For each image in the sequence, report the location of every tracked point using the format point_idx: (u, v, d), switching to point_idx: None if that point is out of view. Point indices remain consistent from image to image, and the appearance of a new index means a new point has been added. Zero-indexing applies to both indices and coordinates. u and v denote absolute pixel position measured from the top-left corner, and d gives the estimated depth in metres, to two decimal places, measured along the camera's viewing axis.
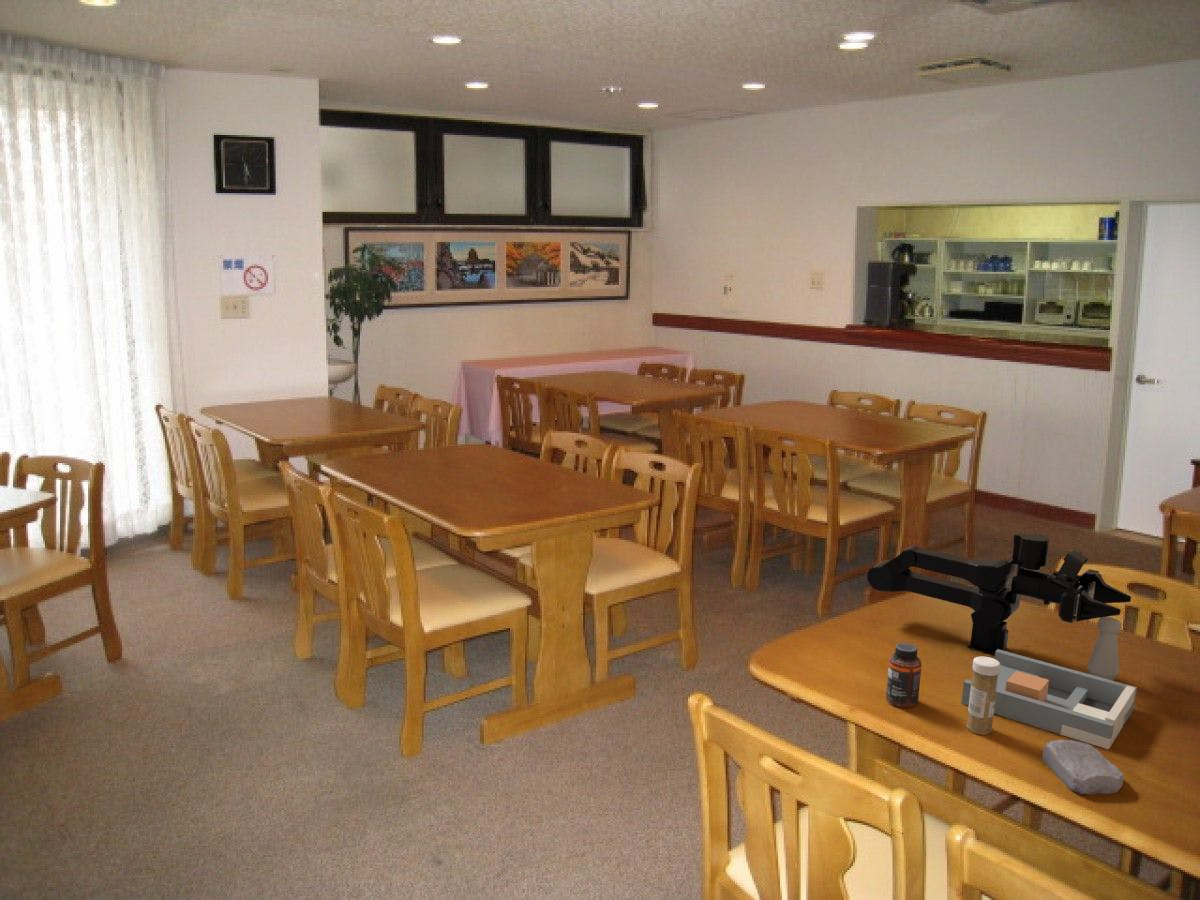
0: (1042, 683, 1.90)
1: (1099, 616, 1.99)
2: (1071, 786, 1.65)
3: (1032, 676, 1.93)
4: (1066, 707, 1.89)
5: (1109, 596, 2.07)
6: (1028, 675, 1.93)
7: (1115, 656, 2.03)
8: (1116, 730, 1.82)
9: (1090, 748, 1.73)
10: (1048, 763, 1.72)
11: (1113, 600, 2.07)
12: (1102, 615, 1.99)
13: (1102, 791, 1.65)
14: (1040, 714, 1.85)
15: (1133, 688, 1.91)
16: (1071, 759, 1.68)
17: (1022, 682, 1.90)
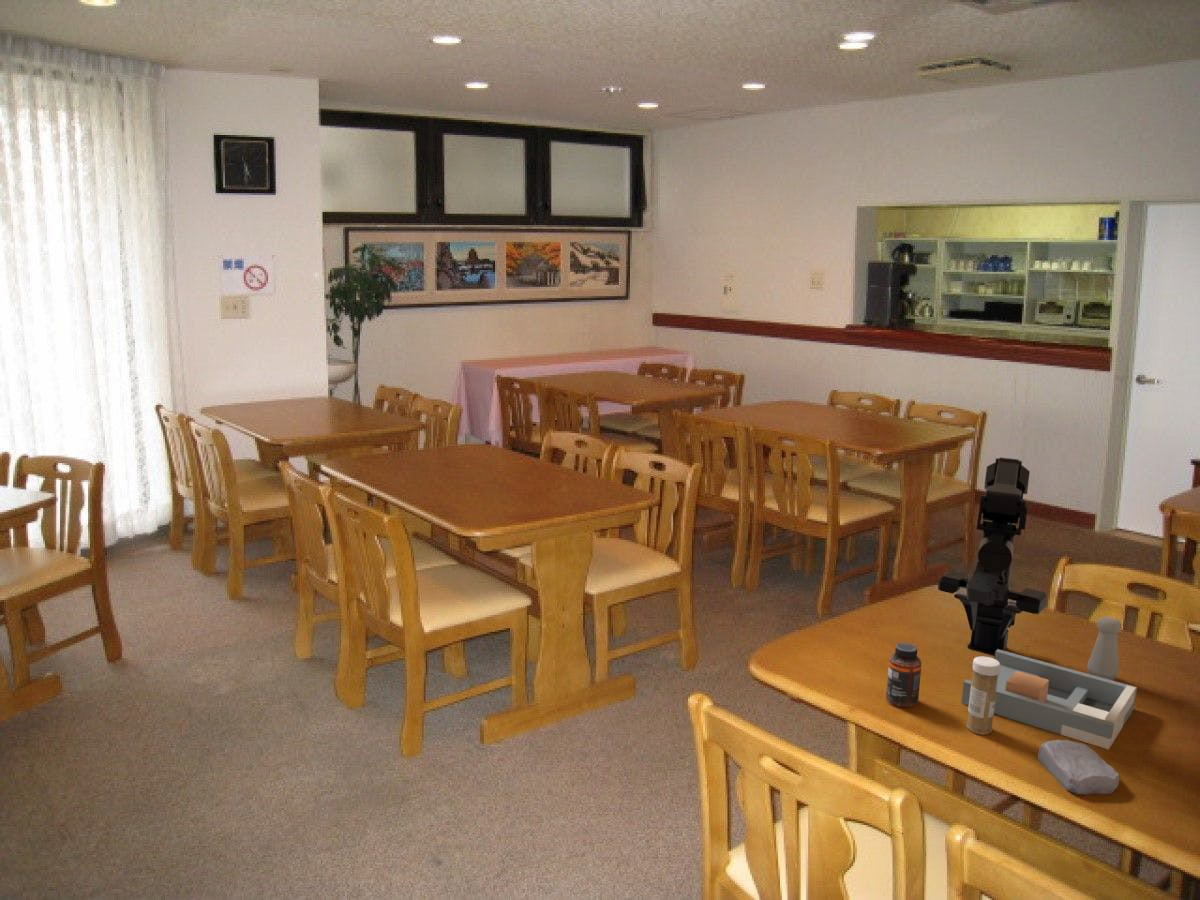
0: (1042, 683, 1.90)
1: None
2: (1067, 786, 1.65)
3: (1032, 676, 1.93)
4: (1066, 707, 1.89)
5: None
6: (1028, 675, 1.93)
7: (1115, 656, 2.03)
8: (1116, 730, 1.82)
9: (1086, 748, 1.73)
10: (1044, 763, 1.72)
11: None
12: None
13: (1098, 791, 1.65)
14: (1040, 714, 1.85)
15: (1133, 688, 1.91)
16: (1067, 760, 1.68)
17: (1022, 682, 1.90)
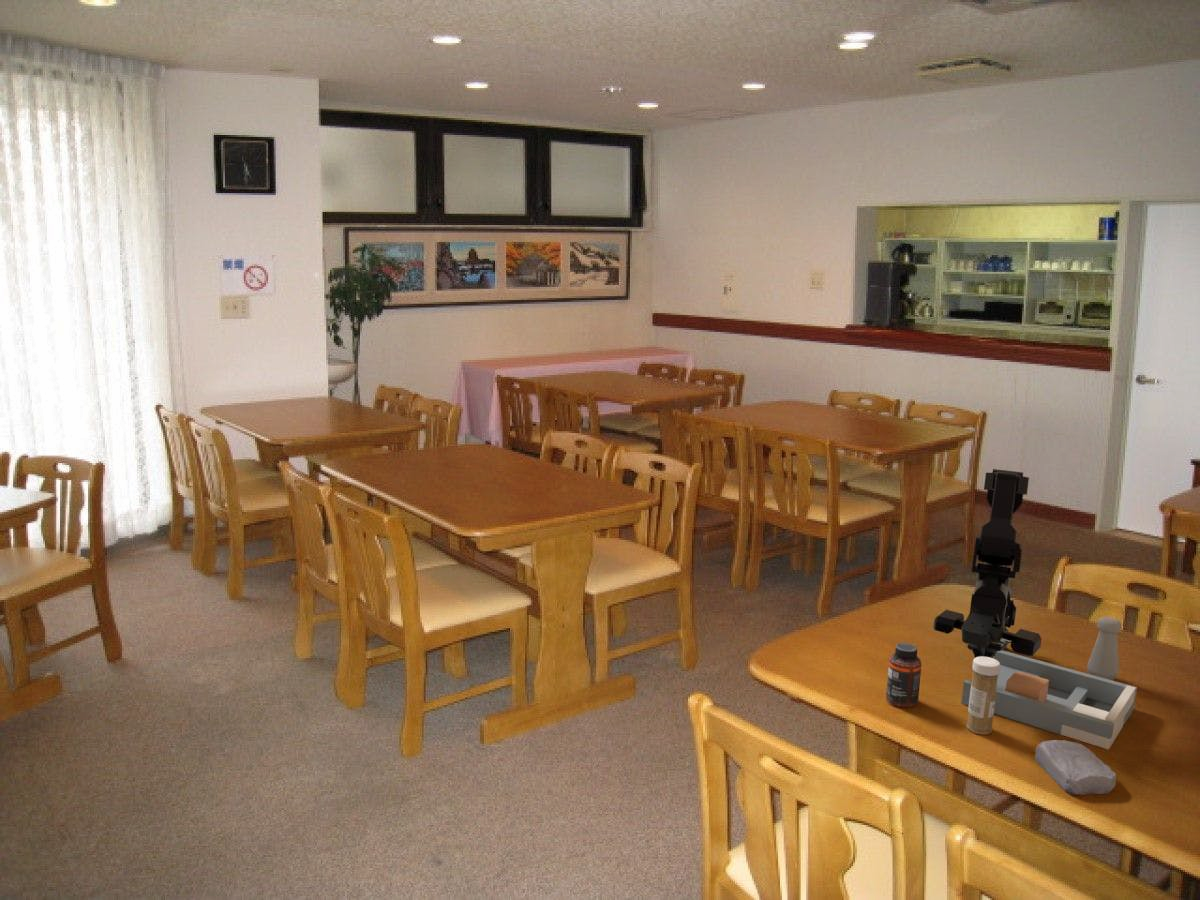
0: (1042, 683, 1.90)
1: None
2: (1064, 786, 1.65)
3: (1032, 676, 1.93)
4: (1066, 707, 1.89)
5: None
6: (1028, 675, 1.93)
7: (1115, 656, 2.03)
8: (1116, 730, 1.82)
9: (1083, 748, 1.73)
10: (1041, 763, 1.72)
11: None
12: None
13: (1095, 791, 1.64)
14: (1040, 714, 1.85)
15: (1133, 688, 1.91)
16: (1064, 760, 1.68)
17: (1022, 682, 1.90)
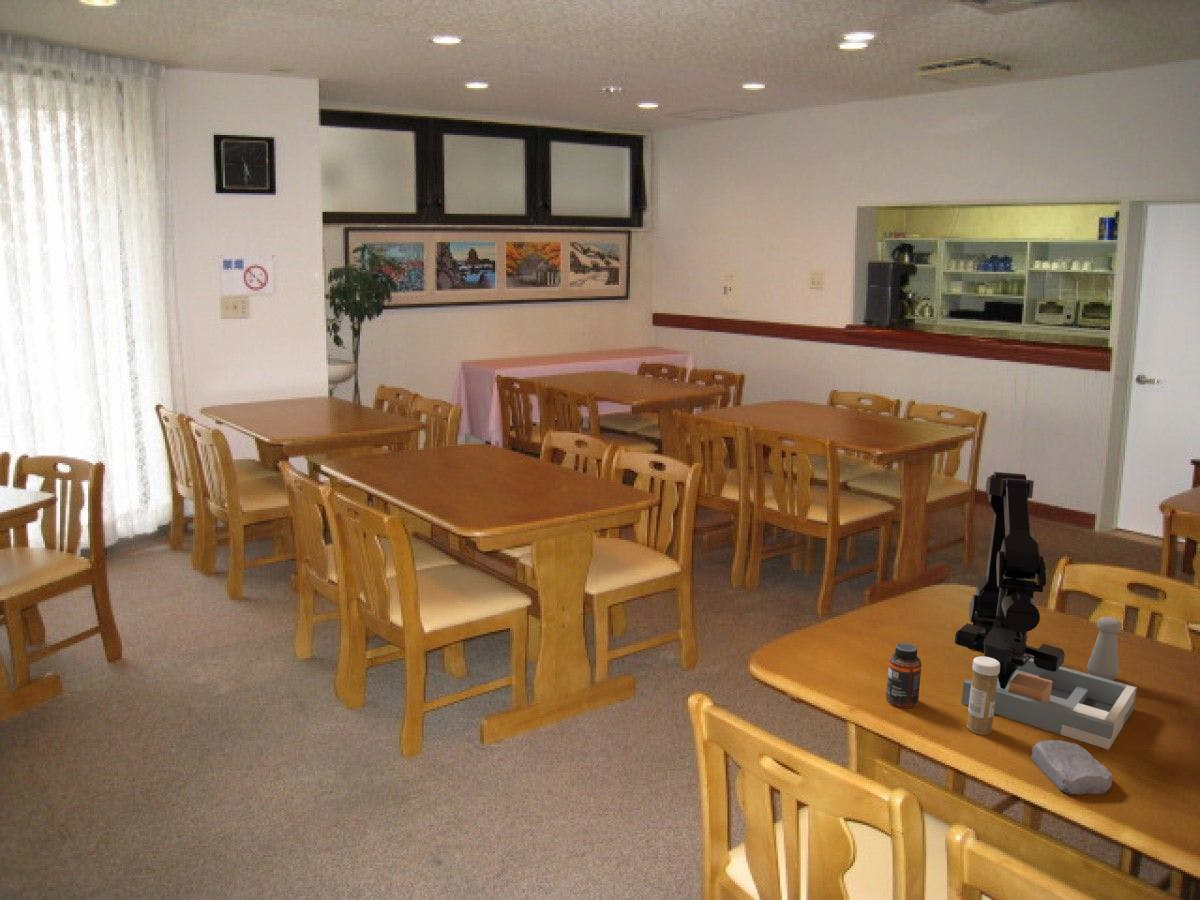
0: (1045, 684, 1.89)
1: None
2: (1060, 786, 1.65)
3: (1035, 677, 1.92)
4: (1066, 707, 1.89)
5: None
6: (1031, 676, 1.93)
7: (1115, 656, 2.03)
8: (1116, 730, 1.82)
9: (1079, 748, 1.73)
10: (1037, 763, 1.72)
11: None
12: None
13: (1091, 791, 1.64)
14: (1040, 714, 1.85)
15: (1133, 688, 1.91)
16: (1060, 760, 1.68)
17: (1026, 683, 1.89)
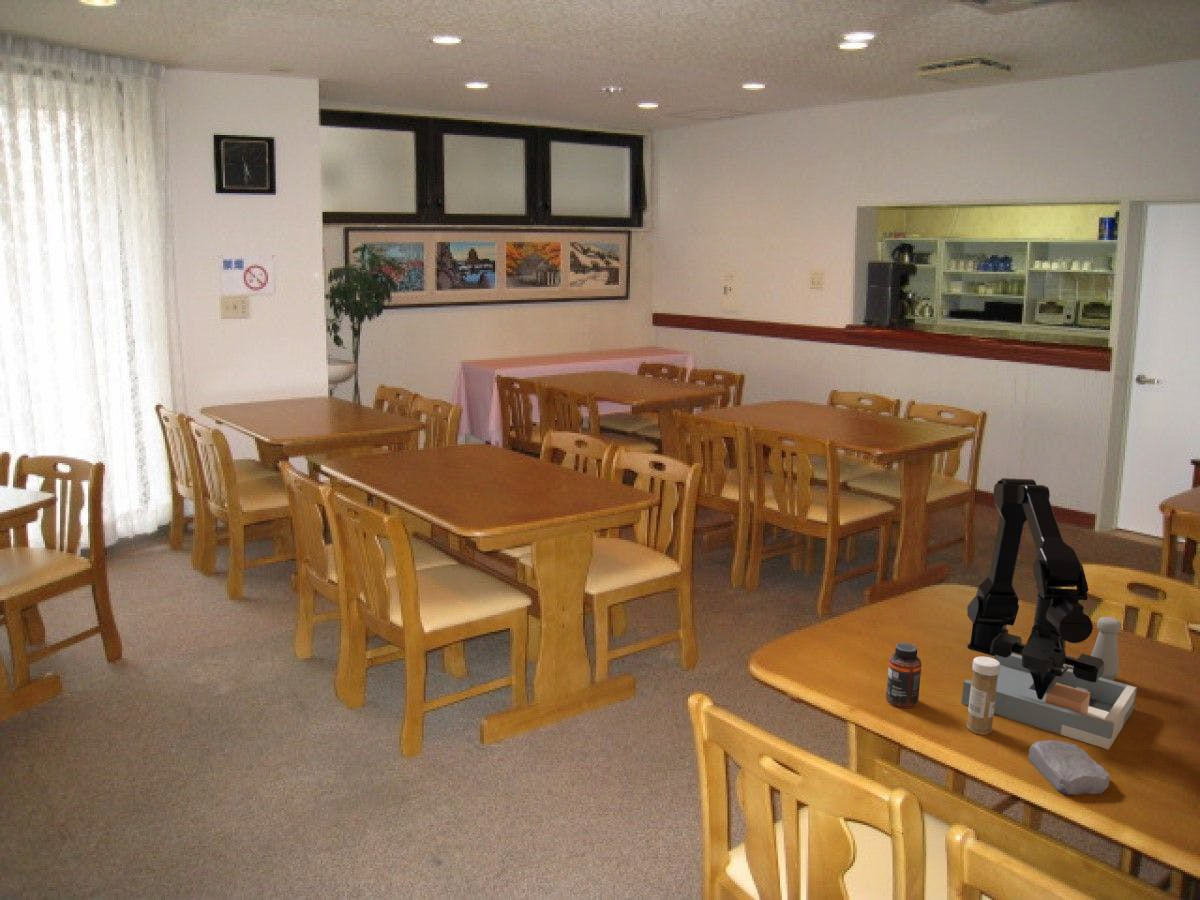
0: (1083, 695, 1.85)
1: None
2: (1058, 787, 1.64)
3: (1073, 688, 1.88)
4: None
5: None
6: (1068, 687, 1.88)
7: (1115, 656, 2.03)
8: (1116, 730, 1.82)
9: (1076, 748, 1.73)
10: (1034, 763, 1.72)
11: None
12: None
13: (1088, 791, 1.64)
14: (1040, 714, 1.85)
15: (1133, 688, 1.91)
16: (1058, 760, 1.68)
17: (1063, 695, 1.85)
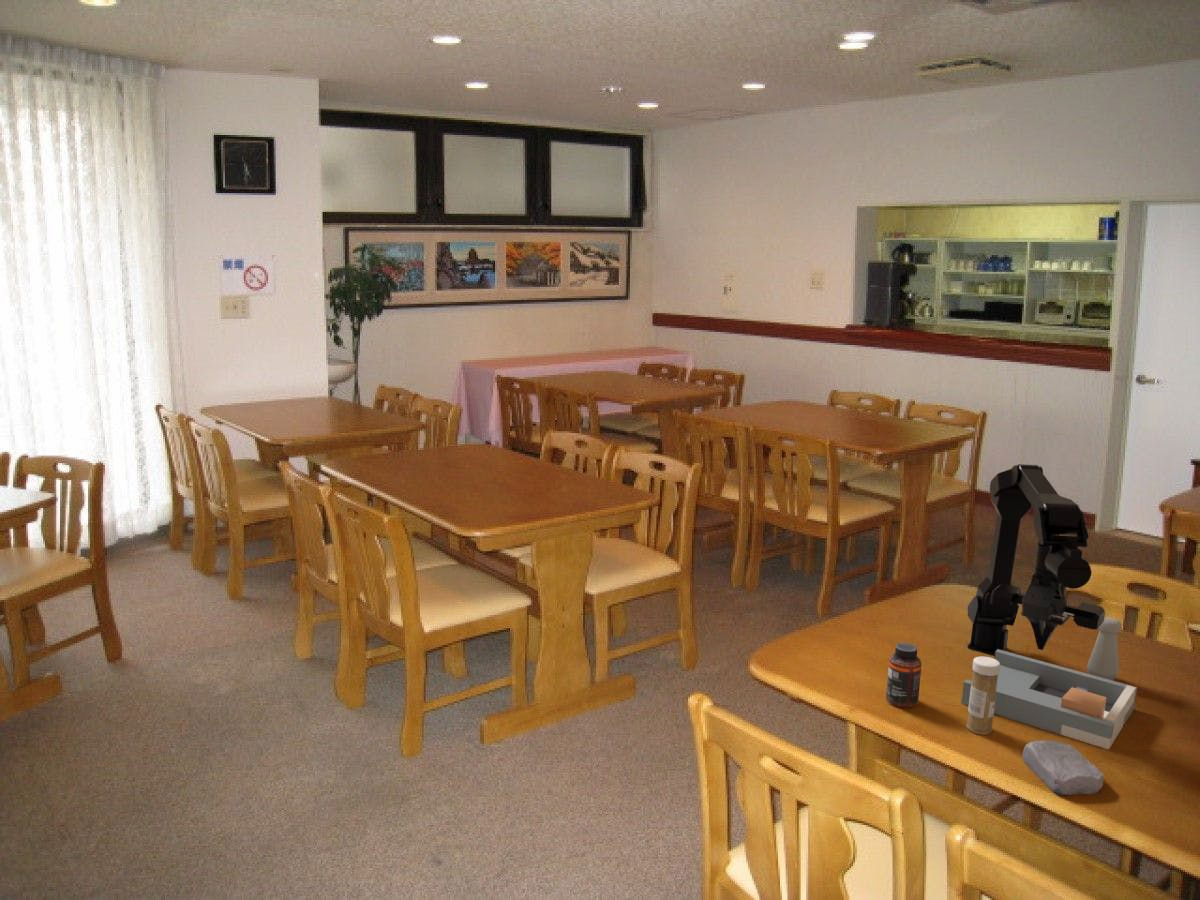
0: (1099, 700, 1.83)
1: None
2: (1052, 787, 1.64)
3: (1088, 693, 1.86)
4: None
5: None
6: (1084, 692, 1.87)
7: (1115, 656, 2.03)
8: (1116, 730, 1.82)
9: (1070, 748, 1.72)
10: (1029, 764, 1.72)
11: None
12: None
13: (1083, 791, 1.64)
14: (1040, 714, 1.85)
15: (1133, 688, 1.91)
16: (1052, 760, 1.68)
17: (1079, 700, 1.83)
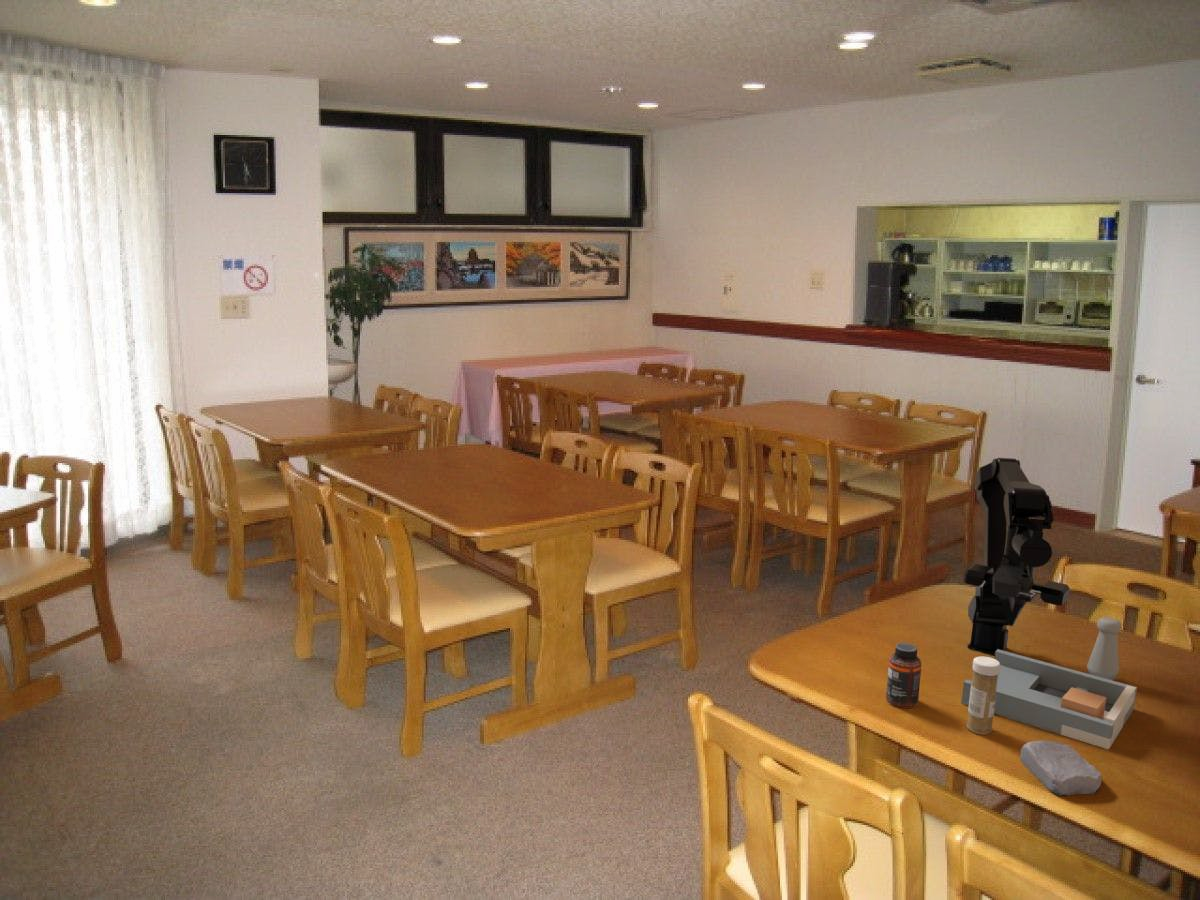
0: (1099, 700, 1.83)
1: None
2: (1050, 787, 1.64)
3: (1088, 693, 1.86)
4: None
5: None
6: (1084, 692, 1.87)
7: (1115, 656, 2.03)
8: (1116, 730, 1.82)
9: (1067, 748, 1.72)
10: (1026, 764, 1.72)
11: None
12: None
13: (1081, 791, 1.64)
14: (1040, 714, 1.85)
15: (1133, 688, 1.91)
16: (1049, 760, 1.68)
17: (1079, 700, 1.83)
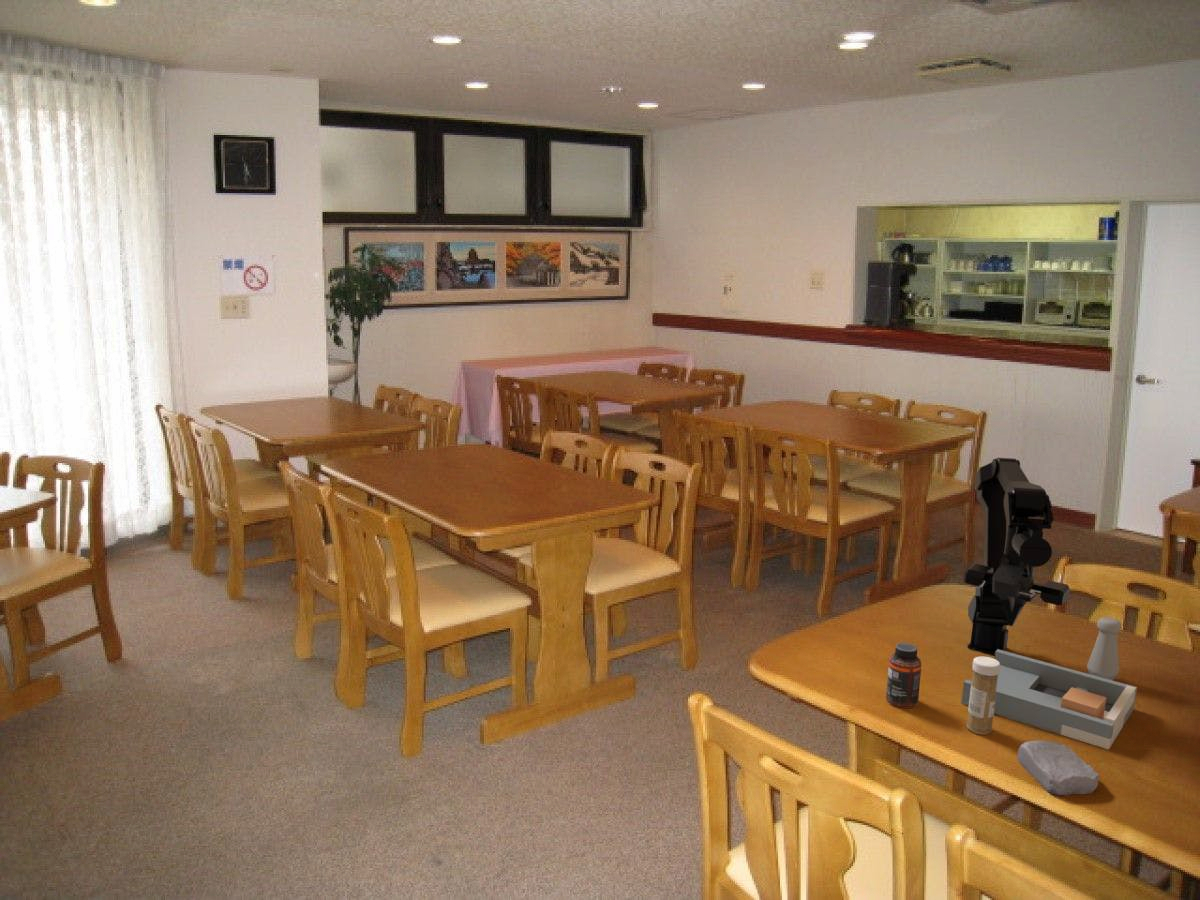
0: (1099, 700, 1.83)
1: None
2: (1047, 787, 1.64)
3: (1088, 693, 1.86)
4: None
5: None
6: (1084, 692, 1.87)
7: (1115, 656, 2.03)
8: (1116, 730, 1.82)
9: (1065, 748, 1.72)
10: (1024, 764, 1.72)
11: None
12: None
13: (1078, 792, 1.64)
14: (1040, 714, 1.85)
15: (1133, 688, 1.91)
16: (1047, 760, 1.68)
17: (1079, 700, 1.83)
